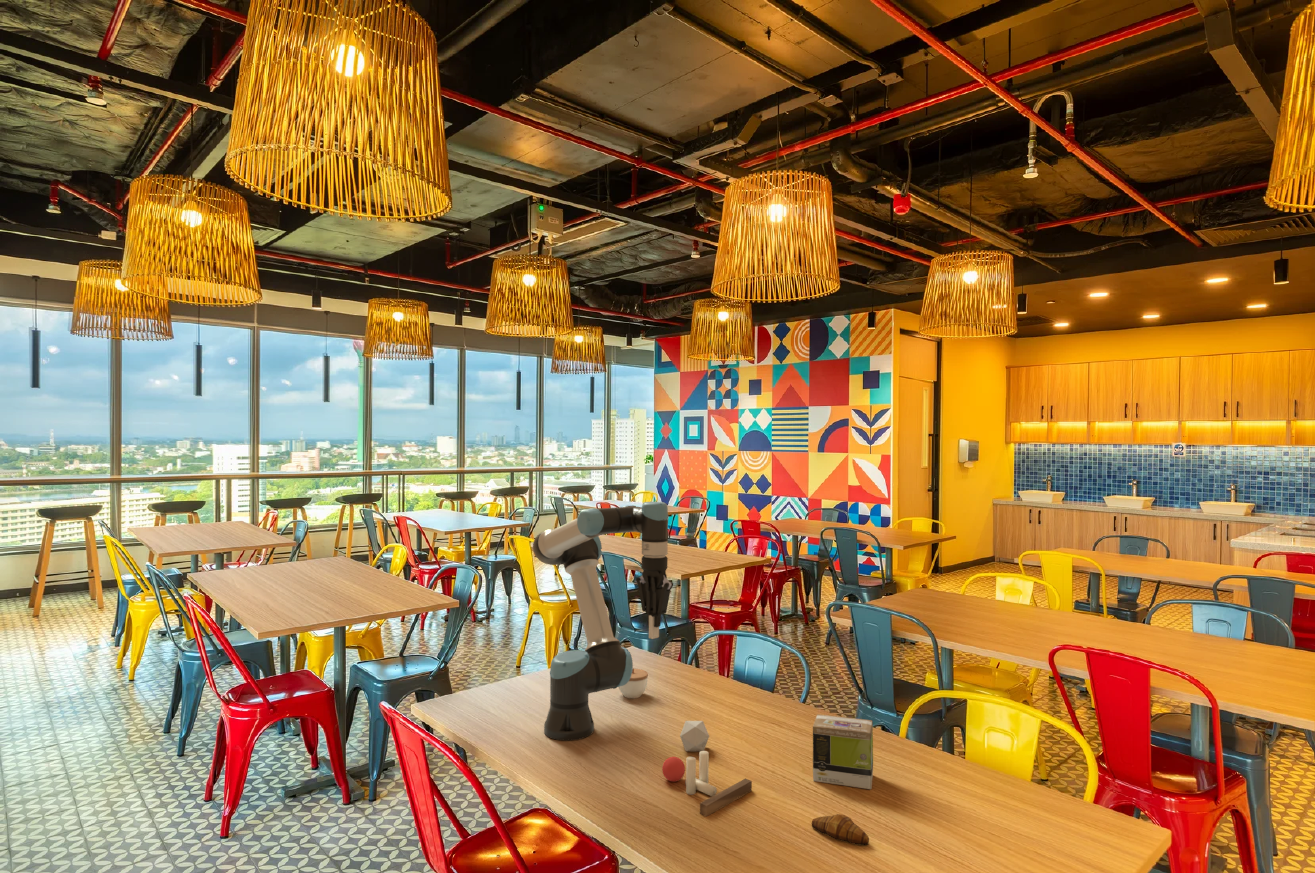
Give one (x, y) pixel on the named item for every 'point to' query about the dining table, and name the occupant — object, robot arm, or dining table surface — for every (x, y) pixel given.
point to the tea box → (843, 751)
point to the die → (694, 736)
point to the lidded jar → (635, 684)
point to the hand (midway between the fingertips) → (653, 637)
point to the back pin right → (690, 775)
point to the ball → (673, 769)
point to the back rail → (725, 797)
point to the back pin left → (703, 766)
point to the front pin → (705, 787)
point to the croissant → (841, 829)
